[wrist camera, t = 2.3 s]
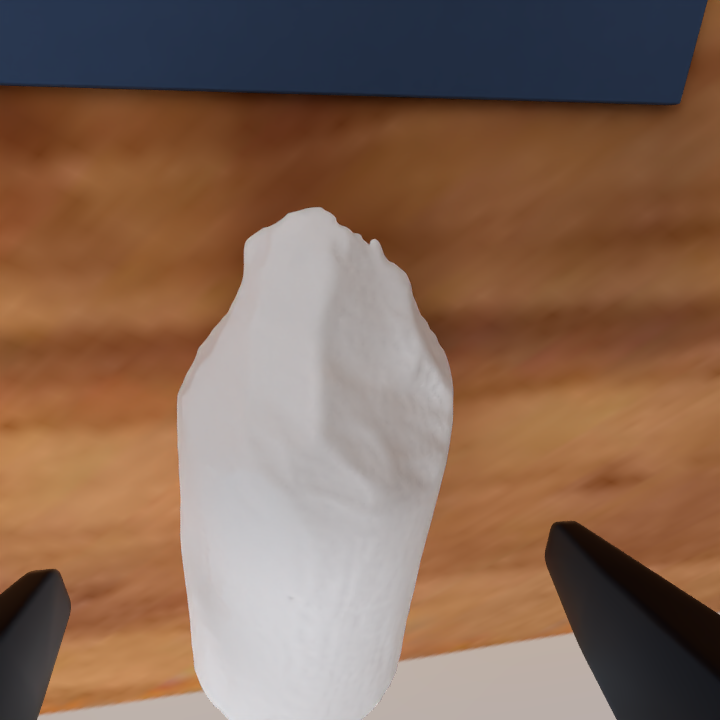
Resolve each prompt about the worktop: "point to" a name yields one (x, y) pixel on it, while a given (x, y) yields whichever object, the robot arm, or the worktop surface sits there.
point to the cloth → (359, 47)
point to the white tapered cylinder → (309, 475)
